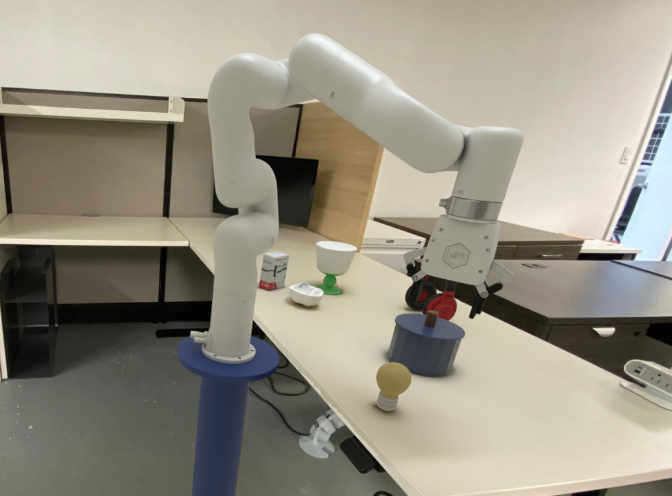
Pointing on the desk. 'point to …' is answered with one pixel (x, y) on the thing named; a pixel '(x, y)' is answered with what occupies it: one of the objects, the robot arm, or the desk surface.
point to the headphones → (435, 299)
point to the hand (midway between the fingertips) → (442, 309)
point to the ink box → (273, 270)
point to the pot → (422, 353)
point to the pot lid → (430, 326)
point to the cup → (333, 262)
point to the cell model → (305, 294)
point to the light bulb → (391, 384)
